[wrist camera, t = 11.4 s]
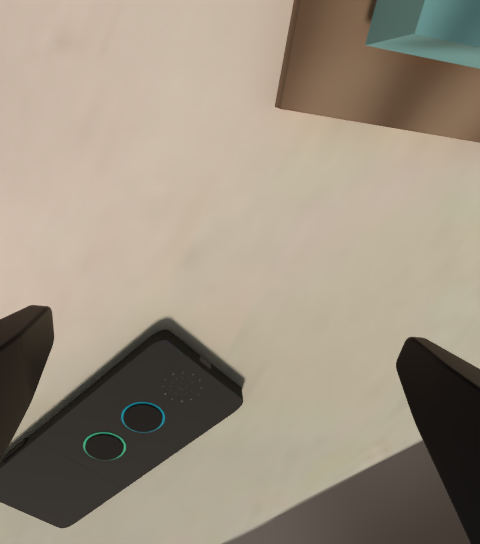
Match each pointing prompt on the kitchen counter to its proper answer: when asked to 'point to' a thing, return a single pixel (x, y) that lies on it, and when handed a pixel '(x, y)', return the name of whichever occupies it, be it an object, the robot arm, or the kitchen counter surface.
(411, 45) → the collar
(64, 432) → the smart home device
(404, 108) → the stand
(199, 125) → the kitchen counter surface
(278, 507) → the kitchen counter surface
